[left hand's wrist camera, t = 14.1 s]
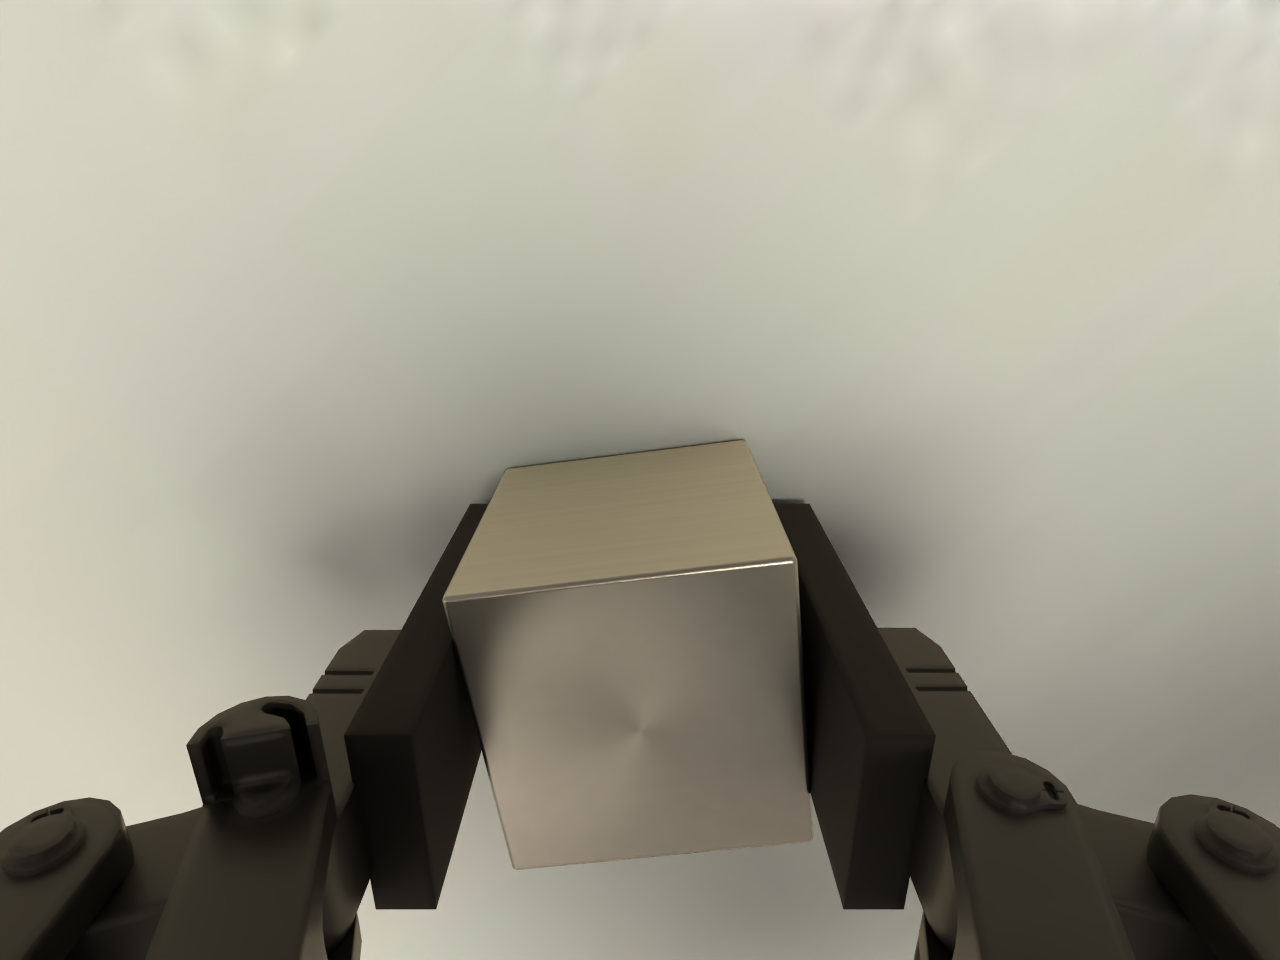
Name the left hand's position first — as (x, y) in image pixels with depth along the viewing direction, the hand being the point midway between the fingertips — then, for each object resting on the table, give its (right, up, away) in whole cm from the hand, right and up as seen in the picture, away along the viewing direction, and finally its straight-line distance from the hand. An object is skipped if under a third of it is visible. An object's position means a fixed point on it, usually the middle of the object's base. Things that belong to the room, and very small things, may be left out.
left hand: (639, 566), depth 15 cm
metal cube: (0, 0, 0) cm, 0 cm away
